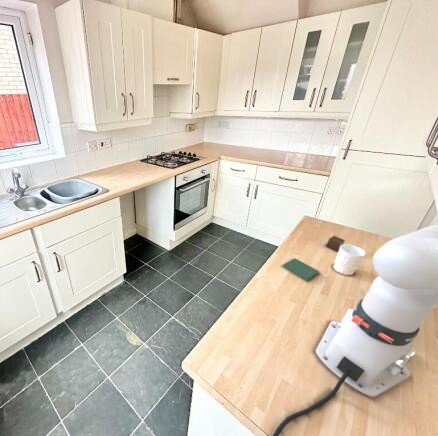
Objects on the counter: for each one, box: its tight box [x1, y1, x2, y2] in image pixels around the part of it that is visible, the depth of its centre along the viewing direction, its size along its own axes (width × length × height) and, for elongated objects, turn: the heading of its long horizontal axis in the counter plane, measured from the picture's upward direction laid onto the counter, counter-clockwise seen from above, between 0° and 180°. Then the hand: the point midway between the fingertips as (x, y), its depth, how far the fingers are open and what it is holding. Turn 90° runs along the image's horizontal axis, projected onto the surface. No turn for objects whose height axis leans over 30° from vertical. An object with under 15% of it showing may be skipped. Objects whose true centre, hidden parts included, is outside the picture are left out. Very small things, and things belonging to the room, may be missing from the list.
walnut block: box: [325, 235, 346, 252], centre depth 111 cm, size 4×4×4 cm
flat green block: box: [282, 258, 320, 282], centre depth 99 cm, size 8×10×1 cm
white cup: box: [333, 243, 366, 276], centre depth 97 cm, size 8×8×10 cm
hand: (378, 271), depth 89 cm, fingers closed
